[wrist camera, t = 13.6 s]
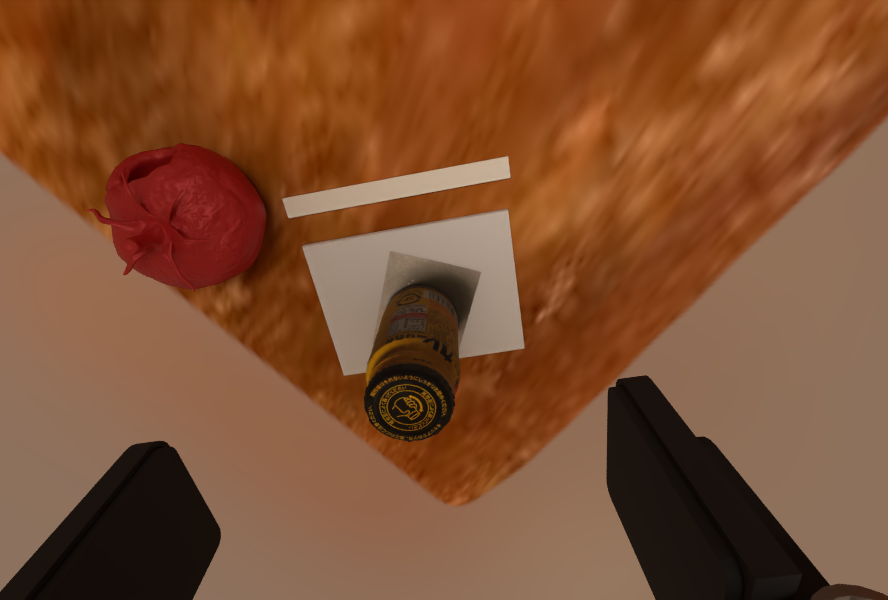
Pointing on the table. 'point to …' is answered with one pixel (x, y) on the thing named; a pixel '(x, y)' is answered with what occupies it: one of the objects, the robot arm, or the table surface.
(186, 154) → the pomegranate
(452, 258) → the mat
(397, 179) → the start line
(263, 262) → the table surface
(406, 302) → the condiment
